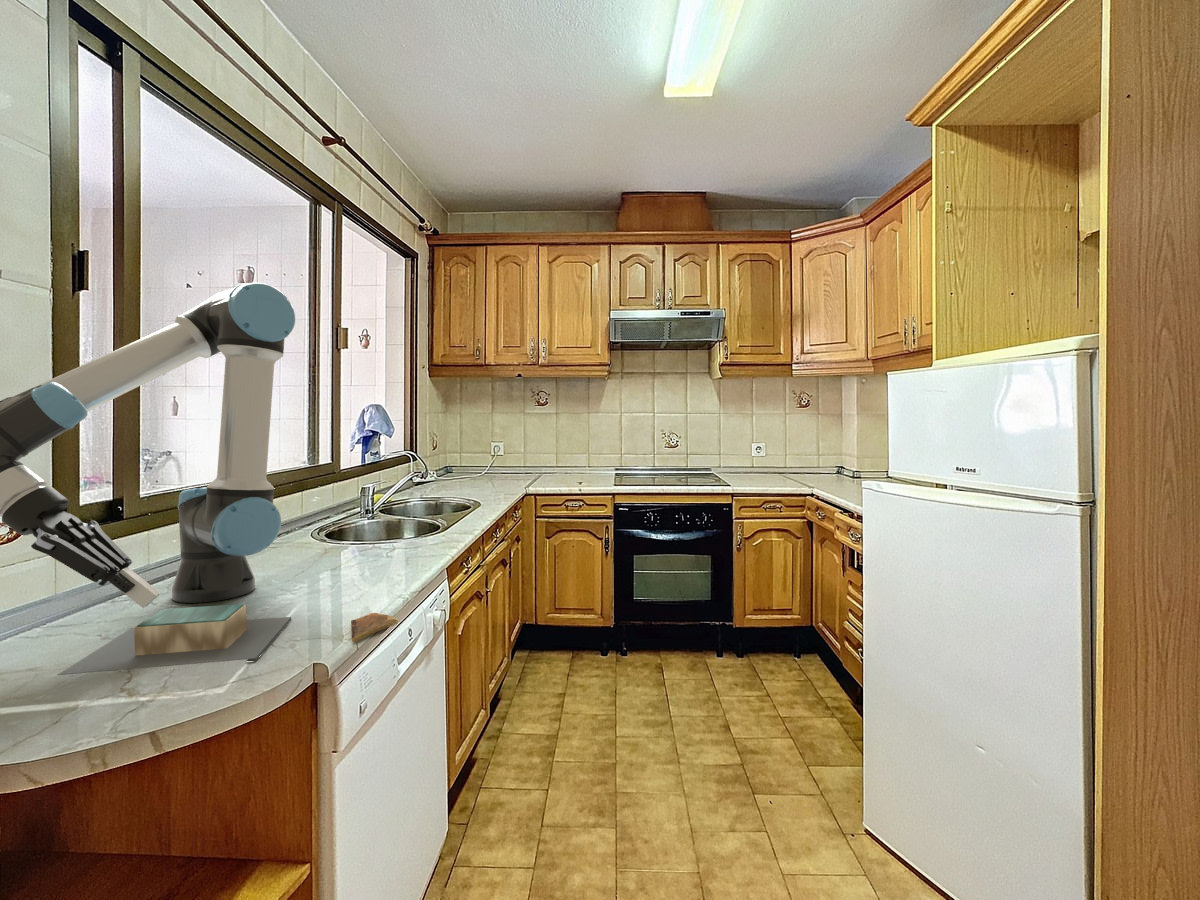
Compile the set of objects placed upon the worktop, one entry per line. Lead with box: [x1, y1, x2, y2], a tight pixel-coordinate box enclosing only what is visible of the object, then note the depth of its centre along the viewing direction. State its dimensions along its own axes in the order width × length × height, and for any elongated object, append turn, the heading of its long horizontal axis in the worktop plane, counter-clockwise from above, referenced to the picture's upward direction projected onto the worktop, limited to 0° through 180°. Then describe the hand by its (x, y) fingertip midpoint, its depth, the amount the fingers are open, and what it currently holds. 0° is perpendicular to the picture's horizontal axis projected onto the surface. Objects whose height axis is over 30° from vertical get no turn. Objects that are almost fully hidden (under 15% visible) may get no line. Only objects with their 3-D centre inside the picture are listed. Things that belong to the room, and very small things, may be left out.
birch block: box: [133, 603, 248, 656], centre depth 100 cm, size 5×9×13 cm
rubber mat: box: [57, 616, 292, 676], centre depth 100 cm, size 26×20×1 cm
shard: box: [350, 612, 399, 643], centre depth 107 cm, size 11×8×2 cm
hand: (151, 600), depth 98 cm, fingers closed
